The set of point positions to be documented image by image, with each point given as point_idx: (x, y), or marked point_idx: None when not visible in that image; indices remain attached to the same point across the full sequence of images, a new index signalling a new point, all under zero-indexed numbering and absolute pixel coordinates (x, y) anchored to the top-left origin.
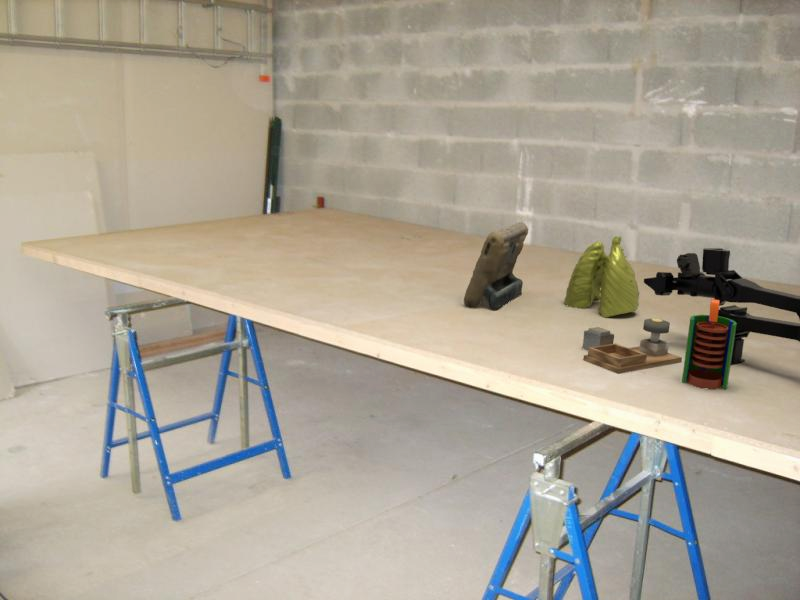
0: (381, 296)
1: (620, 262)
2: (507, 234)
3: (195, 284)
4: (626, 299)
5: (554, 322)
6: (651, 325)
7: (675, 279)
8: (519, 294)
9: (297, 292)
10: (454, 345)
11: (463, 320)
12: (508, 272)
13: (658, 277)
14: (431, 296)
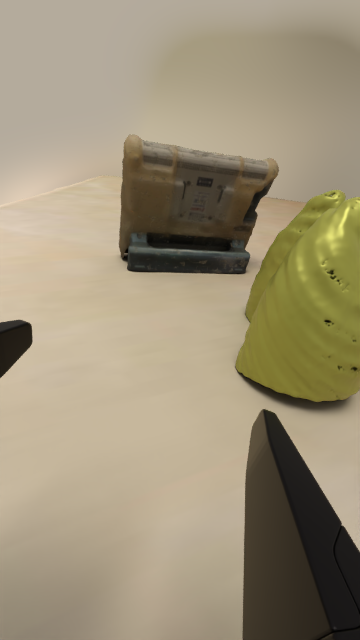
0: (110, 225)
1: (320, 251)
2: (172, 151)
3: (64, 191)
4: (288, 362)
5: (116, 321)
6: None
7: (282, 529)
8: (233, 271)
9: (80, 206)
10: None
11: (47, 261)
12: (220, 234)
13: None
14: None
